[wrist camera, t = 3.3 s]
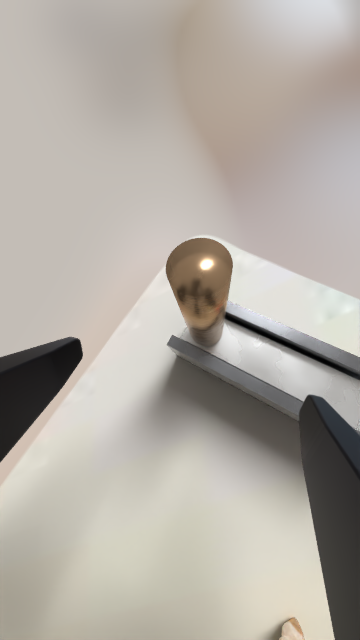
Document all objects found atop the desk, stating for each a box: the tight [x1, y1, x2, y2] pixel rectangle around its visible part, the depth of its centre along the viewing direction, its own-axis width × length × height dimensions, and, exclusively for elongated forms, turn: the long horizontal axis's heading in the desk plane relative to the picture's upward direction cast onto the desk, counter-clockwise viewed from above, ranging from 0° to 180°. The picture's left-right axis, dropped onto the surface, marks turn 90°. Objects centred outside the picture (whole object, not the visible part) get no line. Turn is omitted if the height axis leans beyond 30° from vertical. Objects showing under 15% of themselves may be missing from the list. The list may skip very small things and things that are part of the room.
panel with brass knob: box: [166, 238, 360, 429], centre depth 12 cm, size 12×3×12 cm, turn 61°
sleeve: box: [167, 301, 360, 435], centre depth 16 cm, size 14×5×5 cm, turn 61°
